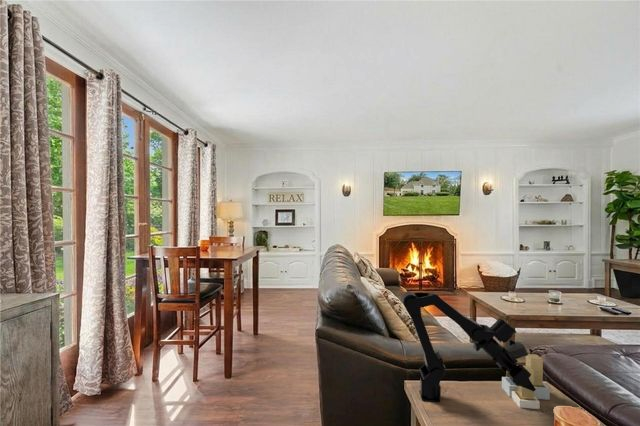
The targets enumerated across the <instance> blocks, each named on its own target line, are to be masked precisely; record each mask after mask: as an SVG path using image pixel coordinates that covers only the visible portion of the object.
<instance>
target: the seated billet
mask: <svg viewBox="0 0 640 426" xmlns="http://www.w3.org/2000/svg"><path fill="white" fill-rule="evenodd" d="M543 363H544V362H543V358H541V357H540V355H538V354H533V353H528V355H527V356H525V366H529V367H530V368H531V369H532V370H533V371H534V387H543V383H544V382H543V381H544V378H543V377H544V375H543V374H544V373H543V371H544V369H543V367H544V366H543Z"/></svg>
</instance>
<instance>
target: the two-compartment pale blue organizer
mask: <svg viewBox="0 0 640 426" xmlns="http://www.w3.org/2000/svg"><path fill="white" fill-rule="evenodd" d="M501 388H502V389H503V391H505V393H506V394H507V396H508V397H509V398H512V391H517V386H516V385H515V384H514V383H513V382H512V381H511V379H510V378H509V376H501ZM535 389H536V390H535V391H534V396H535V397H536V398H537V400H547V401H549V400H550V397H551V395H550V394H551V393H550V392H551V391H550V388H549V387H548V386H547V385H546V384H545V383H544V382H543V387H535Z"/></svg>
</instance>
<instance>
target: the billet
mask: <svg viewBox="0 0 640 426" xmlns="http://www.w3.org/2000/svg"><path fill="white" fill-rule="evenodd" d="M516 365H517V366H518V365H519V364H516ZM521 365H522V366H523V367H524V368H525V369H526V370H527V371H528V372H530V373H531V376H530V377H529V379H530V381H531V383H532V384H533V386H534V371H533V370H532V369H531V368H530V367H529V366H526V365H523V364H521ZM517 396H518V397H519V398H520V399H521V400H534V391H531V390H529V389H526V388H524V387H521V386H517Z"/></svg>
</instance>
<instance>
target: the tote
mask: <svg viewBox="0 0 640 426" xmlns="http://www.w3.org/2000/svg"><path fill="white" fill-rule="evenodd" d="M511 399H512V400H513V401H514V403H515V404H516V405H517V406H518V408H519V409H520V408H522V409H535V410H540V402H541V401H540V400H539V399H537V398H536V397H535V396H534V400H521V399H520V398H519V397H518V396H517V391H512V397H511Z"/></svg>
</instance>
